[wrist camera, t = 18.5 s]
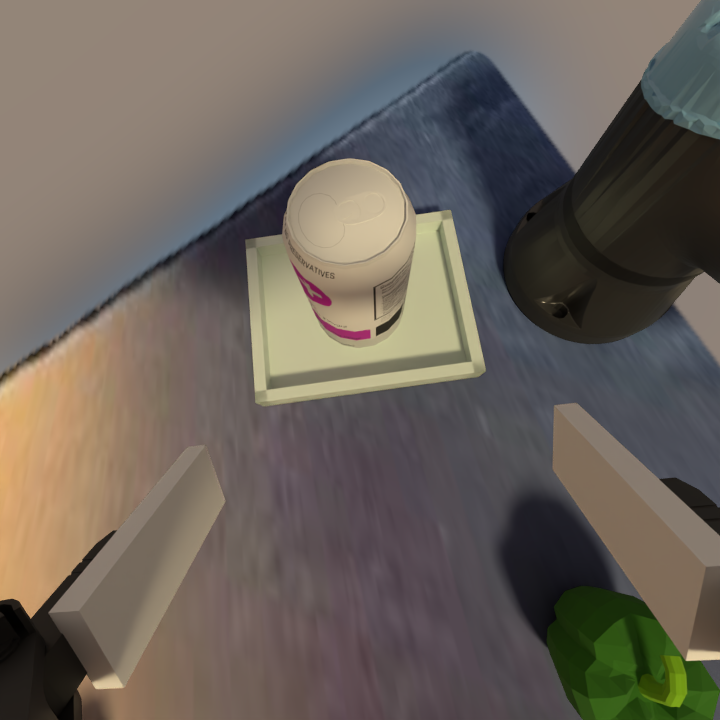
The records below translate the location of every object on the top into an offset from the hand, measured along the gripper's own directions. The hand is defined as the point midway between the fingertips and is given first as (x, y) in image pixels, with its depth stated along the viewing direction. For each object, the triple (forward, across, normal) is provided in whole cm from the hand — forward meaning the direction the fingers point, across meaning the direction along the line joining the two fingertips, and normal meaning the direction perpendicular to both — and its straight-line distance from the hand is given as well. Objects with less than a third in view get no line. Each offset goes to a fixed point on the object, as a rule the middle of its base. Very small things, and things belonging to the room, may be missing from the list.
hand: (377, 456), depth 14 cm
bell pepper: (+9, +13, -24) cm, 29 cm away
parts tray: (+24, -2, 0) cm, 24 cm away
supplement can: (+23, -2, +1) cm, 23 cm away
